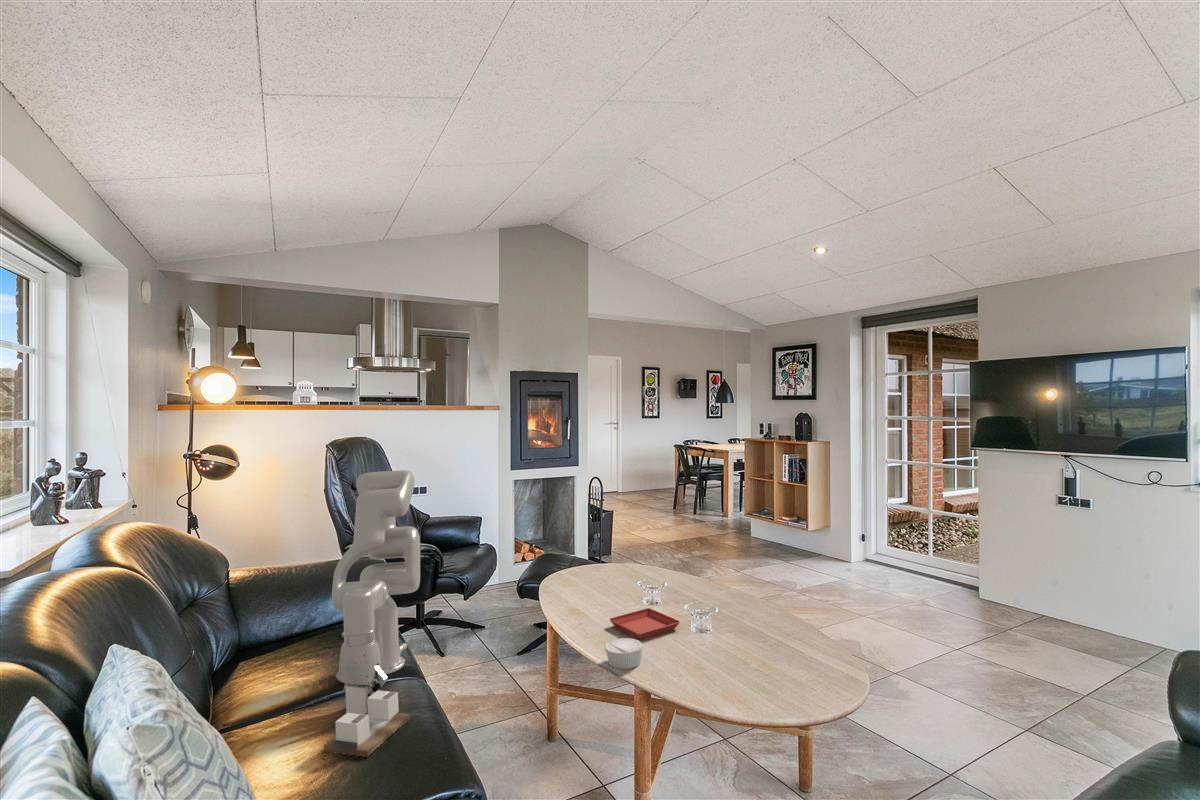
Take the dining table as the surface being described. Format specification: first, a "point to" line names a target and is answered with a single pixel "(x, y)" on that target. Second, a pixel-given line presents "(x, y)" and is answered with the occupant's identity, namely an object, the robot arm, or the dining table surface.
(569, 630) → the dining table surface
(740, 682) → the dining table surface
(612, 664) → the ramekin
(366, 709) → the block
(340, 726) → the mounted modules
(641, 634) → the plant saucer
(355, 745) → the board
